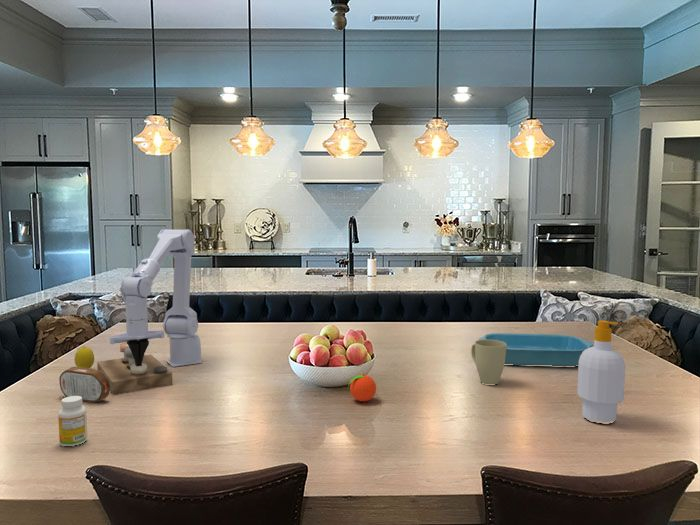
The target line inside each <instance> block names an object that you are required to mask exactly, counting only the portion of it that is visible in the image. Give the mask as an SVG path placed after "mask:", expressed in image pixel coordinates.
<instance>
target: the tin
mask: <svg viewBox="0 0 700 525" xmlns="http://www.w3.org/2000/svg"><path fill="white" fill-rule="evenodd" d="M59 388H60V391H61V393H62V394H63V395H64V396H65V398H66V397H70V396H81V397H82V402H87V401H88V403H97V402H100V401H102V400H106V399H107V397H108V396H109V394H111V393H110V392H111V391H110V383H109V380H108V378H107V376H106V375H105V374H104V373H103V372H101V371H99V370H98V369H94V368H89V369H87V368H80V367H77V366H73V367H72V366H71V367H70V368H68V369H66V370H63V371H62V372H61V374H60V376H59Z"/></svg>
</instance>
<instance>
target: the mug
mask: <svg viewBox="0 0 700 525" xmlns="http://www.w3.org/2000/svg"><path fill="white" fill-rule="evenodd" d="M506 346H507V344H506V343H505V342H502V341H498V340H487V339H486V340H479V339H478V340H475V341H474V343H473V344H472V346H471V350H470V351H471V357H472V360H473V362H474V364H475V366H476V371H477V373H478V376H479V380H480V383H481V382H482V383H484V384H497V383H498V384H499V382H500V379H501V378H502V377H501V376H502V373H503V371H504V369H505V365H504V364H505V356H506ZM482 383H481V384H482ZM484 384H483V385H484Z"/></svg>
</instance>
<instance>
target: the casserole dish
mask: <svg viewBox="0 0 700 525" xmlns="http://www.w3.org/2000/svg"><path fill="white" fill-rule="evenodd" d="M486 339H487V340H498V341H502V342H505V343H506V344H507V346H506V356H505V364H513V365H552V366H576V365H579V359H580V356H581V354H582V352H583V351H584V350H586V349H588V348H591V347H594V343H593V342H591V341H590V340H588V339H583V338H581V337H578V336H574V335H567V334H543V333H541V334H540V333H505V332H504V333H502V332H500V333H487V334H485V335H484V336H482V337H480V338H478V340H486Z"/></svg>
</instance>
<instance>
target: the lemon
mask: <svg viewBox="0 0 700 525" xmlns="http://www.w3.org/2000/svg"><path fill="white" fill-rule="evenodd" d="M94 363H95V353H94V351H93V350H92V348H90V347H87V346H85V345H83V346H81V347H80V348H79V349H77V351H76V352H75V354H74V364H75V367H80V368H87V369H91V368H92V367H93V365H94Z"/></svg>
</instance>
